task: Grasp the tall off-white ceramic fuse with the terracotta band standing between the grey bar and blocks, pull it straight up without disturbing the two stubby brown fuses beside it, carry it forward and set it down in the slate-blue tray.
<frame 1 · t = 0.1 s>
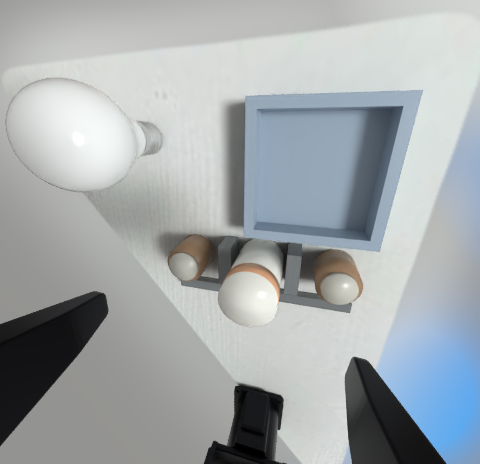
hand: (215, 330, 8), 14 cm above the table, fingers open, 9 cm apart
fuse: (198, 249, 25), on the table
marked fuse: (261, 257, 23), on the table
tray: (314, 172, 19), on the table
grey bar and blocks: (261, 258, 23), on the table
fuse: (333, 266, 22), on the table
lightbulb: (154, 138, 21), on the table
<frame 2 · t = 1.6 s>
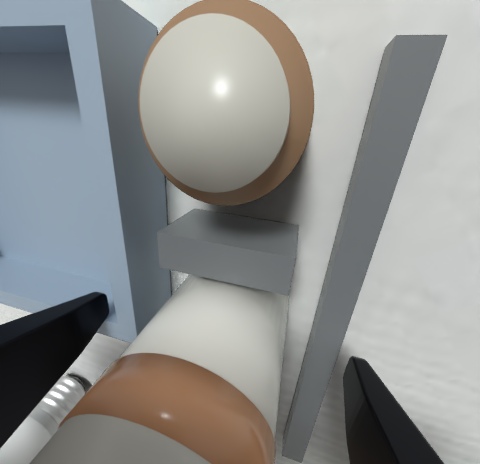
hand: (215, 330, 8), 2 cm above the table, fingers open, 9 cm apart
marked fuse: (237, 296, 10), on the table
tray: (58, 180, 10), on the table
grey bar and blocks: (237, 296, 10), on the table
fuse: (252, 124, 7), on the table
lightbulb: (80, 378, 17), on the table
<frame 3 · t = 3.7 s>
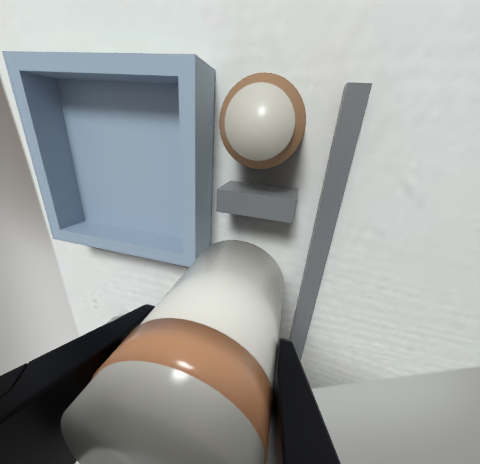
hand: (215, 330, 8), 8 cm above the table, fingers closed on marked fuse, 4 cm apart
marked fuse: (237, 282, 11), point 5 cm above the table, touching gripper
tray: (135, 164, 15), on the table
grey bar and blocks: (256, 241, 15), on the table
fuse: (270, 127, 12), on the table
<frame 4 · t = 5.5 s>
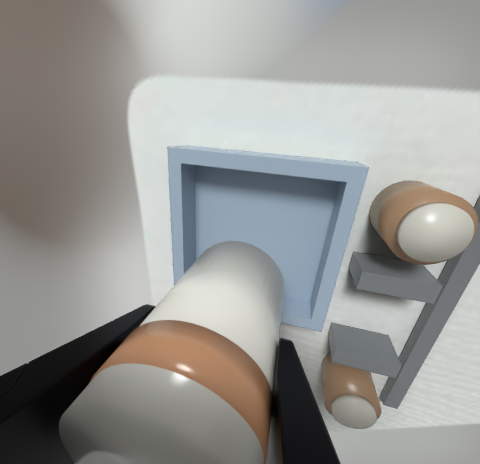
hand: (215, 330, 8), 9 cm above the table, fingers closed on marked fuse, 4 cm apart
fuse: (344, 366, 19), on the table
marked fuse: (237, 283, 11), point 6 cm above the table, touching gripper
tray: (257, 231, 16), on the table
grey bar and blocks: (369, 302, 16), on the table
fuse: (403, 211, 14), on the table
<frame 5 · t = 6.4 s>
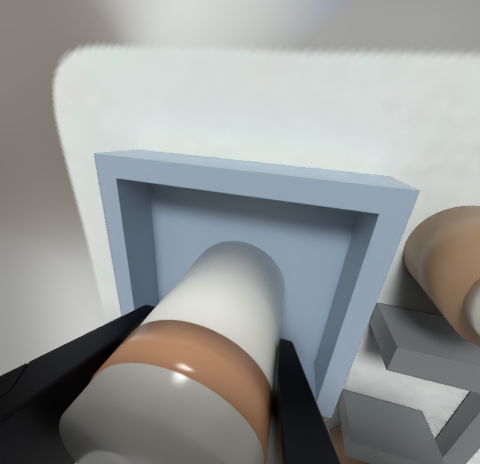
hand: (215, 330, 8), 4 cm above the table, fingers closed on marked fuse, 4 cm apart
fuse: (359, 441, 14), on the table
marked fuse: (237, 283, 11), point 1 cm above the table, touching gripper
tray: (240, 269, 12), on the table
grey bar and blocks: (397, 369, 12), on the table
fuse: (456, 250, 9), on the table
when the fingers open (4 cm above the table, at t = 7.1 s): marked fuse stays where it is, resting on tray.
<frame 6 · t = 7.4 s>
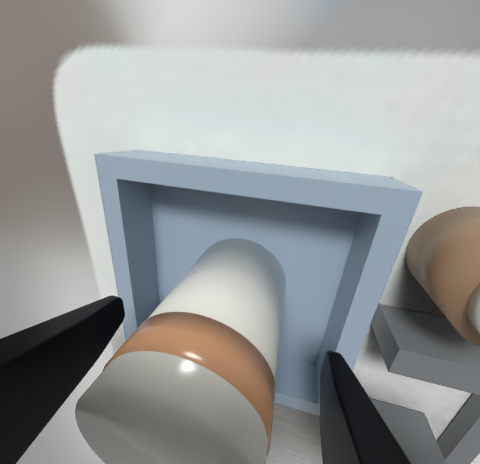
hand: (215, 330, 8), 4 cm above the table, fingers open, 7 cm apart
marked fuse: (240, 279, 11), resting on tray
tray: (241, 270, 12), on the table
grey bar and blocks: (398, 370, 12), on the table
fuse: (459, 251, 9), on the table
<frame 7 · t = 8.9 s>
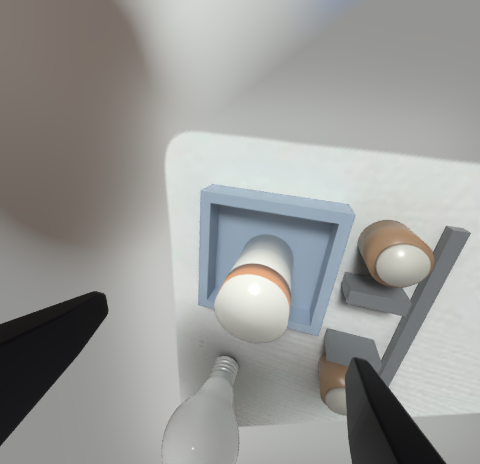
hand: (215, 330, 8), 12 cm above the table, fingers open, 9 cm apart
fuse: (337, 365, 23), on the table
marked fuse: (267, 257, 20), resting on tray
tray: (267, 253, 20), on the table
grey bar and blocks: (358, 312, 20), on the table
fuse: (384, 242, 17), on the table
lightbulb: (229, 358, 27), on the table
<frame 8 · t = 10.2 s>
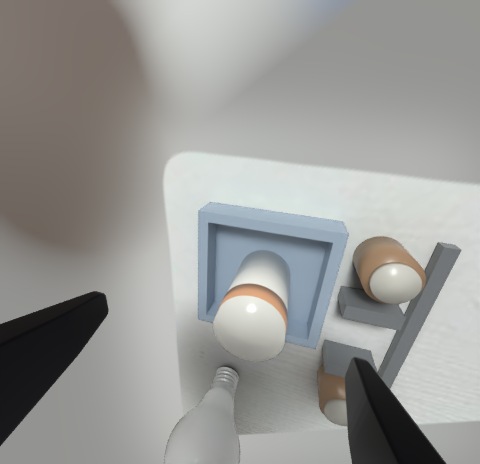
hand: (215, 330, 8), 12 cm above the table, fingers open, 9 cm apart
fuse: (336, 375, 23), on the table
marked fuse: (264, 272, 20), resting on tray
tray: (265, 267, 21), on the table
grey bar and blocks: (354, 325, 20), on the table
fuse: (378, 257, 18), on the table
lightbulb: (229, 368, 27), on the table
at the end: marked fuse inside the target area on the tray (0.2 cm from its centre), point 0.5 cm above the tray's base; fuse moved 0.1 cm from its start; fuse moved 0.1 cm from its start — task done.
